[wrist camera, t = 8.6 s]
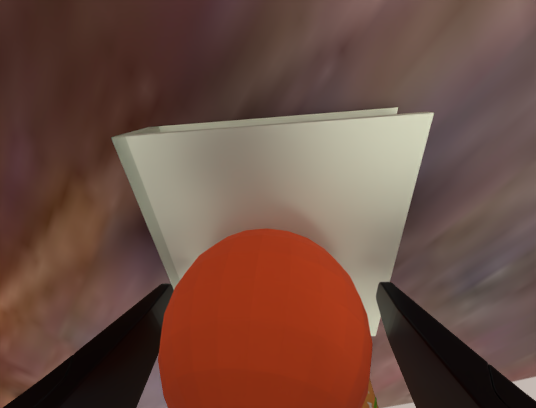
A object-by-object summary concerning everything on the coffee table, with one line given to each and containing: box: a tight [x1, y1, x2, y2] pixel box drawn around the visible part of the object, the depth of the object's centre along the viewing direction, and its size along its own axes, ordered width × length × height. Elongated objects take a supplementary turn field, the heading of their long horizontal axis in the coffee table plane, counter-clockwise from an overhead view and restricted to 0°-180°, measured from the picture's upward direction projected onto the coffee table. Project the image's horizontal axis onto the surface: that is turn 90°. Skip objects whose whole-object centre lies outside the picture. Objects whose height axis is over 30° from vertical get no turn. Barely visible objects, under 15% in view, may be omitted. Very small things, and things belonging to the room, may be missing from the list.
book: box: [111, 107, 434, 336], centre depth 12 cm, size 12×13×3 cm
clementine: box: [158, 228, 377, 408], centre depth 8 cm, size 8×7×7 cm
